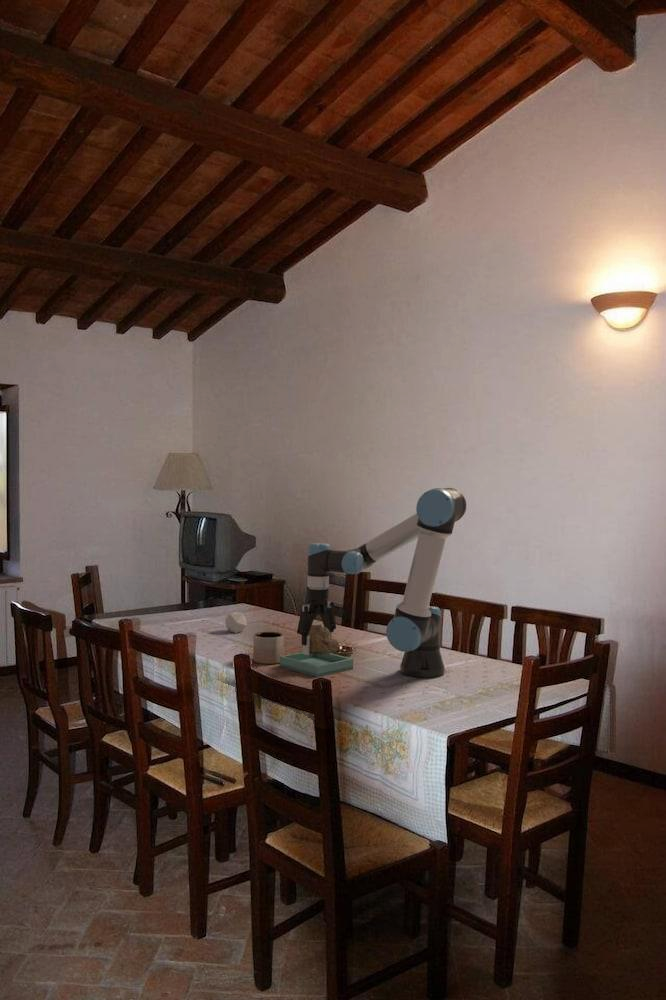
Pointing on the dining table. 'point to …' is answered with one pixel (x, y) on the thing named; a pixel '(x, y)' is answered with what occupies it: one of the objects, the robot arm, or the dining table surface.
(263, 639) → the planter
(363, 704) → the dining table surface
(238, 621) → the die
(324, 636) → the rock
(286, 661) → the glazed dish
